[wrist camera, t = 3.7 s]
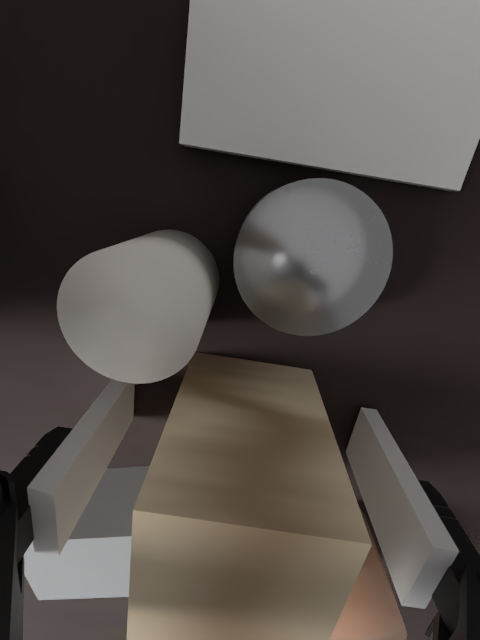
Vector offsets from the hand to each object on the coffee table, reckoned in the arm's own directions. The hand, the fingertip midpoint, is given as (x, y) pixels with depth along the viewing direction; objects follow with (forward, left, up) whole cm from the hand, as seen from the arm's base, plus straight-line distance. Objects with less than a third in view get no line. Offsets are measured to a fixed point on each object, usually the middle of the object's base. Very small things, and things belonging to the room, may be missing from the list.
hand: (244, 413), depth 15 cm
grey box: (-6, -7, 0) cm, 9 cm away
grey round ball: (+1, +8, 0) cm, 8 cm away
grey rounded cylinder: (-4, +6, 0) cm, 7 cm away
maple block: (0, 0, 0) cm, 0 cm away
